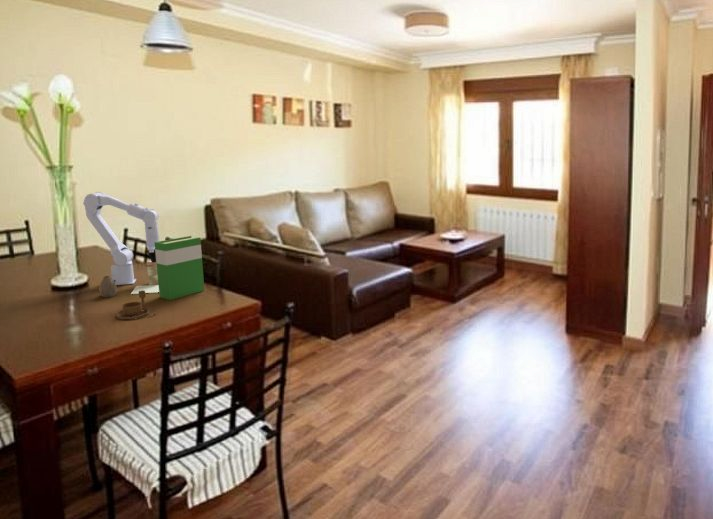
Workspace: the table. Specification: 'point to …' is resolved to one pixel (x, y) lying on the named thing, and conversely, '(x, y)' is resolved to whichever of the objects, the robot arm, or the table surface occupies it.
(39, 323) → the table surface
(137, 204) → the robot arm
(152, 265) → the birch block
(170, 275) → the hardback book
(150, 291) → the mat
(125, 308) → the place setting
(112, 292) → the vase
